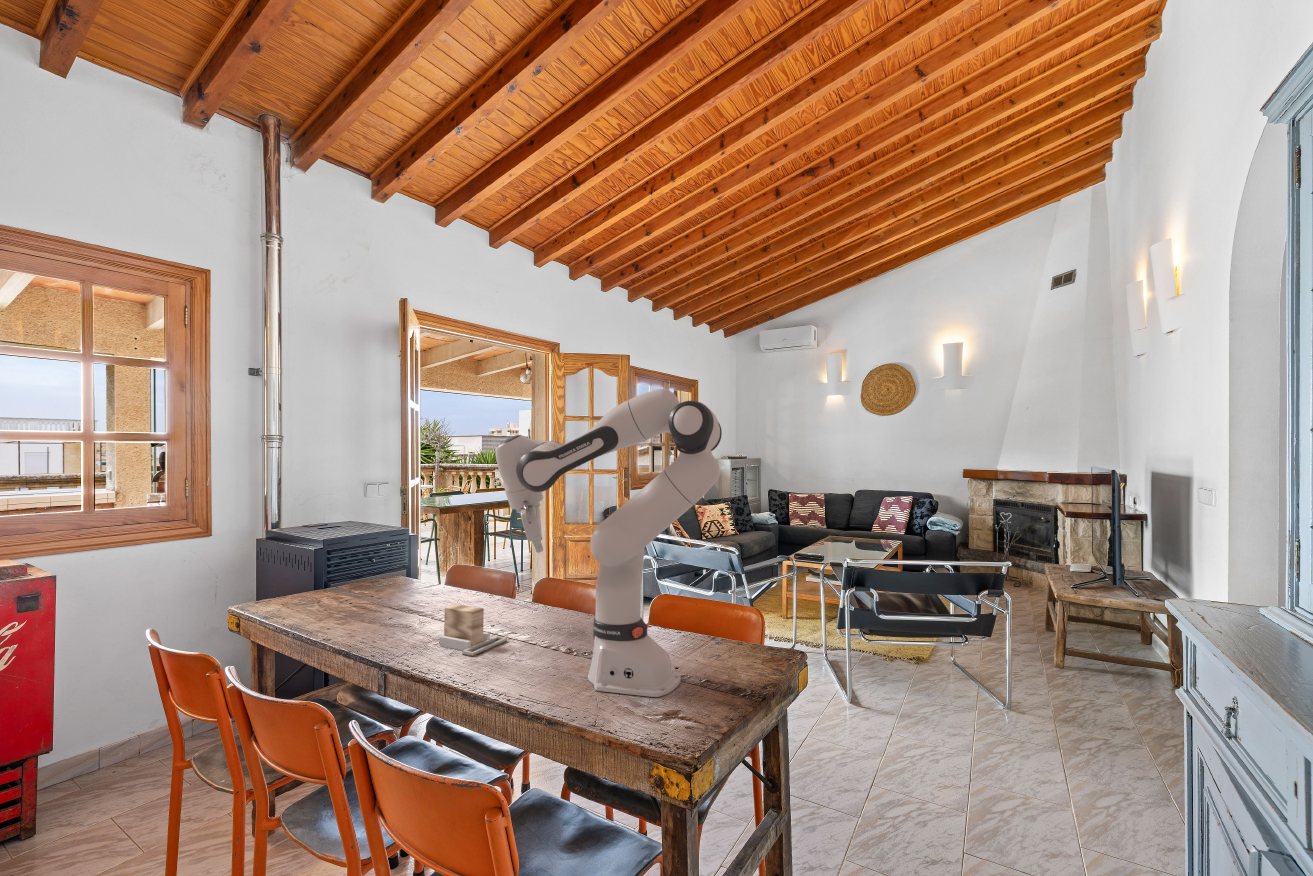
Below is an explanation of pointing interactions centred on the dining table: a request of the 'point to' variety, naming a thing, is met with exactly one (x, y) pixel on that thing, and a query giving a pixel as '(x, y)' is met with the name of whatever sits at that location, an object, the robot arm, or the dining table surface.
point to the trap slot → (484, 646)
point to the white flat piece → (459, 642)
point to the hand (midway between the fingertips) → (539, 545)
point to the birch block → (464, 623)
